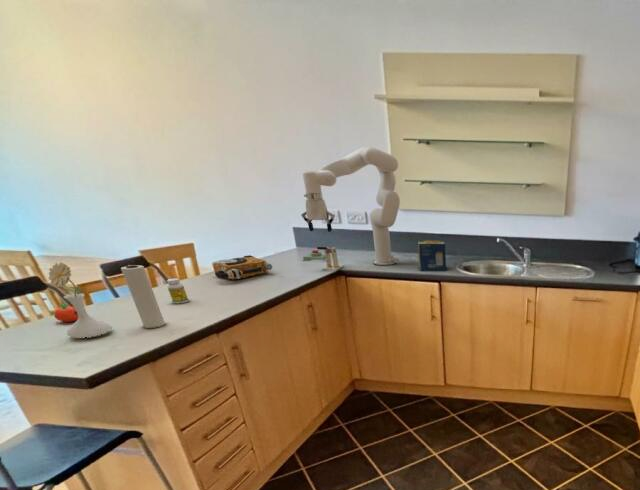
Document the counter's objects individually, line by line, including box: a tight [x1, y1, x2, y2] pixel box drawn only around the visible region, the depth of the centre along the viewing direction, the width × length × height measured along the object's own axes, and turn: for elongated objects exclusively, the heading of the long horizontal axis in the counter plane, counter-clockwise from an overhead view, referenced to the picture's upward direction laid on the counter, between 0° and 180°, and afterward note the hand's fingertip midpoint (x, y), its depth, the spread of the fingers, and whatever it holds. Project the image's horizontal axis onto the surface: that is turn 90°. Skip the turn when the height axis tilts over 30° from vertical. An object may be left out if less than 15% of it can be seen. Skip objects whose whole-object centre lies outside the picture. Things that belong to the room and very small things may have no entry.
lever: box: [316, 246, 332, 255], centre depth 231 cm, size 12×5×2 cm, turn 179°
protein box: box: [417, 240, 447, 272], centre depth 245 cm, size 10×15×16 cm
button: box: [311, 249, 320, 253], centre depth 259 cm, size 4×4×2 cm
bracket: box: [322, 246, 344, 270], centre depth 237 cm, size 10×8×12 cm
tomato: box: [53, 303, 78, 323], centre depth 152 cm, size 7×8×6 cm
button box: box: [302, 251, 326, 262], centre depth 260 cm, size 12×10×4 cm
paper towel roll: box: [120, 264, 165, 329], centre depth 147 cm, size 7×6×21 cm
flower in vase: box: [48, 261, 113, 339], centre depth 136 cm, size 13×11×25 cm
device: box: [211, 254, 273, 280], centre depth 216 cm, size 23×8×30 cm
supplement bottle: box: [166, 277, 189, 304], centre depth 175 cm, size 5×5×10 cm
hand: (320, 231), depth 225 cm, fingers open, 9 cm apart
